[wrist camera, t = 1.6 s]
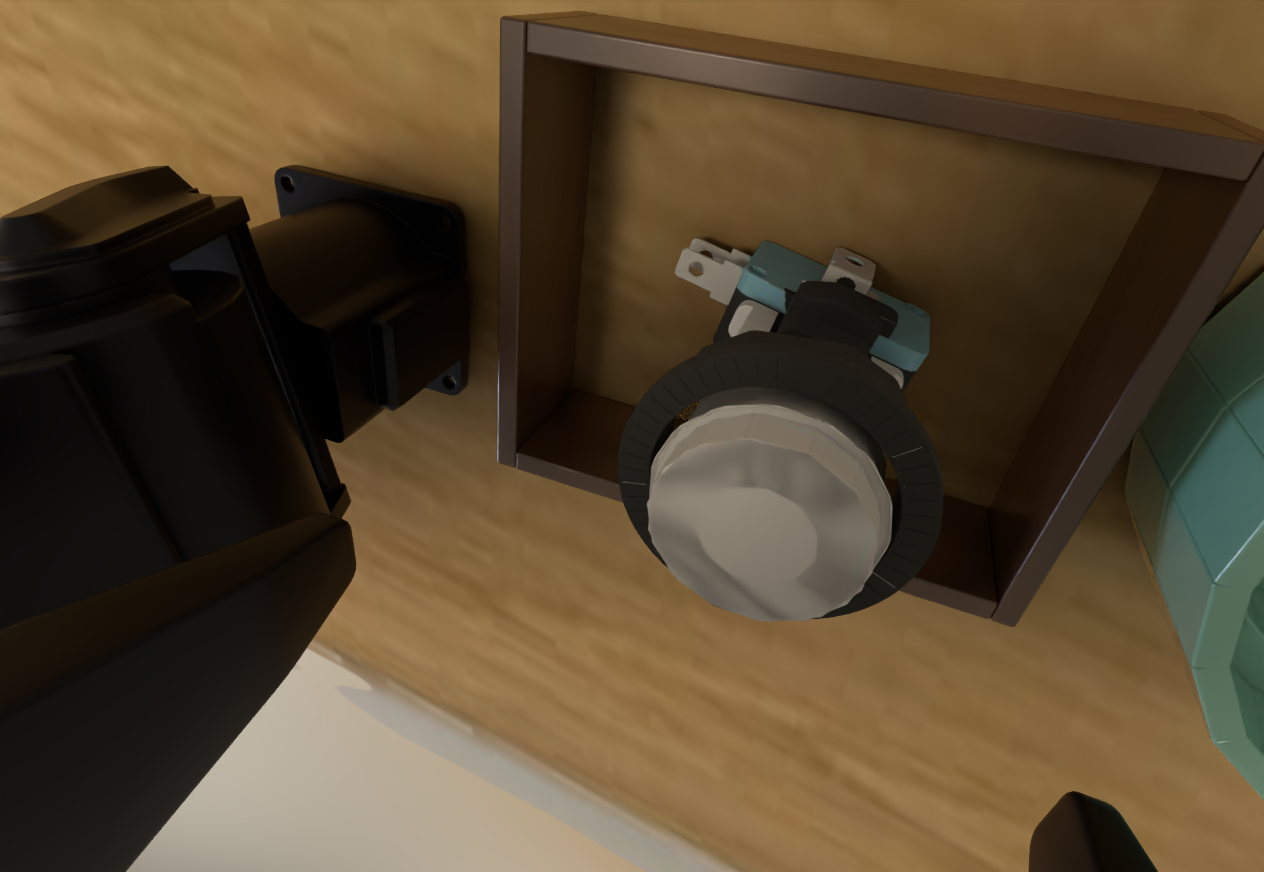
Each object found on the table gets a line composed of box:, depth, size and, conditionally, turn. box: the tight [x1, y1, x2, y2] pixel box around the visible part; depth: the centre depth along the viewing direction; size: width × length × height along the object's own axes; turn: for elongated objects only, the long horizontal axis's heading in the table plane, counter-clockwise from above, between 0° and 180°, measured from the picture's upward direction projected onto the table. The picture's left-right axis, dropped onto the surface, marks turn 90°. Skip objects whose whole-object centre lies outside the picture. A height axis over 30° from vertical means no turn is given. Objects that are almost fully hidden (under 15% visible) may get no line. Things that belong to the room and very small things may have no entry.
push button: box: [617, 237, 943, 622], centre depth 15 cm, size 7×5×10 cm
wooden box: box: [497, 11, 1264, 627], centre depth 17 cm, size 14×11×4 cm
